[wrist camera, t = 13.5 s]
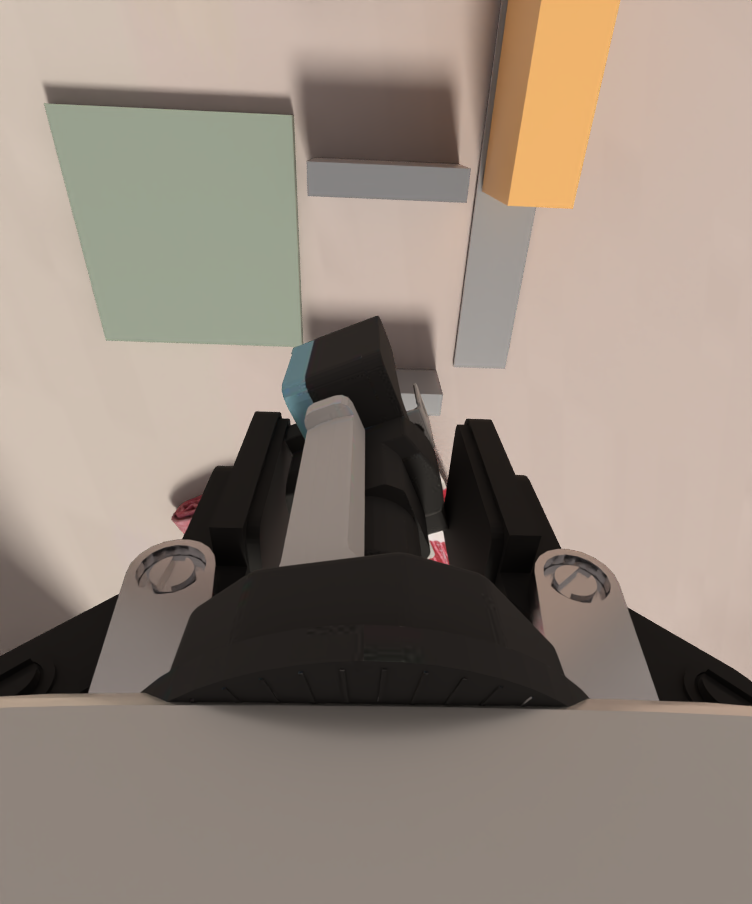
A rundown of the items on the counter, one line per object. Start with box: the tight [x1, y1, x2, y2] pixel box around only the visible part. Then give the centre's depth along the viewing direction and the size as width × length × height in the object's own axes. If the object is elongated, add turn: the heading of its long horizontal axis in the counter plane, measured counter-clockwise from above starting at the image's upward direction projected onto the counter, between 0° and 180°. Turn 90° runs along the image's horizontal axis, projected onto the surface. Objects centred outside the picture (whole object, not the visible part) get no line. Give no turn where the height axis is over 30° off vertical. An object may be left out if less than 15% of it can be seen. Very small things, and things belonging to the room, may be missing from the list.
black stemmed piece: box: [141, 316, 590, 707], centre depth 9 cm, size 7×5×10 cm
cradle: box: [307, 0, 536, 416], centre depth 22 cm, size 10×19×3 cm, turn 178°
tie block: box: [482, 0, 620, 209], centre depth 18 cm, size 2×8×5 cm, turn 178°
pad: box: [44, 103, 303, 347], centre depth 23 cm, size 10×10×1 cm
